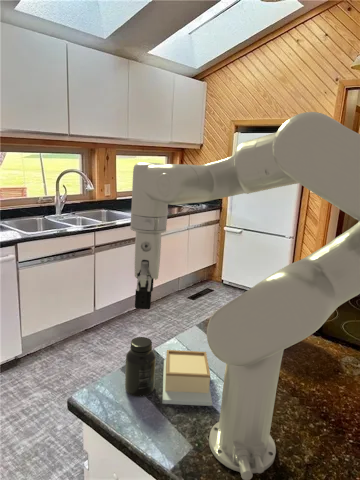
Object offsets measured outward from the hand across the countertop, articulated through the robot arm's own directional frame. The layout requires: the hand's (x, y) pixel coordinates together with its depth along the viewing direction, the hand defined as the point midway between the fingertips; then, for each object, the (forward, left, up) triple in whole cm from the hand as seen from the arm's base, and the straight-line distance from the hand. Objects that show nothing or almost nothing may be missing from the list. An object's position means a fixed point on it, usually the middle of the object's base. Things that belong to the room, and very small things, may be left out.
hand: (144, 299), depth 78 cm
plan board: (+3, -11, -22) cm, 25 cm away
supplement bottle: (0, 0, -23) cm, 23 cm away
